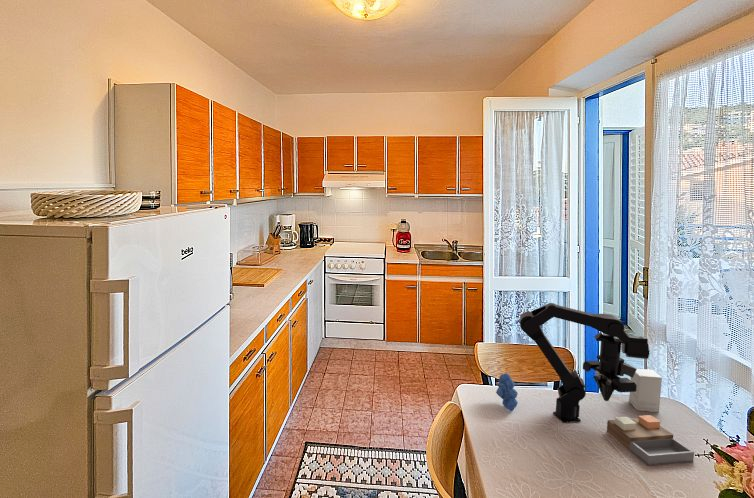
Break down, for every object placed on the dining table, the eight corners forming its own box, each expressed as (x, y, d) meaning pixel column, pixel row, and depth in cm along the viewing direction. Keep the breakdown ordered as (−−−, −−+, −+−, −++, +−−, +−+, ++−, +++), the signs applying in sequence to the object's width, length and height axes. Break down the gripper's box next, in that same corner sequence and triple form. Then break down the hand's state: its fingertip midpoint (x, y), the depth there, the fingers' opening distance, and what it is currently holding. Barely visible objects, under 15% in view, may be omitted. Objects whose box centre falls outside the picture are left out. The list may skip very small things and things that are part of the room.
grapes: (488, 400, 154) (489, 369, 153) (505, 399, 156) (507, 368, 154) (502, 416, 143) (504, 382, 142) (521, 415, 144) (523, 381, 143)
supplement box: (659, 412, 147) (662, 377, 145) (636, 410, 148) (639, 375, 147) (650, 402, 154) (653, 369, 152) (628, 400, 155) (630, 367, 154)
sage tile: (623, 430, 128) (624, 424, 127) (614, 423, 132) (615, 417, 131) (635, 429, 128) (636, 423, 128) (626, 422, 132) (627, 416, 132)
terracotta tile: (647, 428, 129) (648, 422, 129) (638, 421, 133) (638, 415, 132) (659, 427, 129) (660, 421, 129) (649, 421, 133) (650, 415, 133)
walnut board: (629, 450, 124) (630, 437, 124) (606, 432, 134) (607, 420, 133) (672, 447, 126) (673, 434, 125) (646, 429, 136) (647, 417, 135)
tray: (648, 466, 117) (649, 455, 117) (629, 450, 124) (630, 441, 124) (693, 462, 119) (694, 452, 118) (672, 447, 126) (673, 437, 126)
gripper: (654, 364, 128) (650, 413, 130) (613, 344, 147) (609, 386, 149) (621, 366, 127) (617, 415, 129) (583, 345, 145) (580, 388, 147)
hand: (606, 400), depth 138 cm, fingers closed
